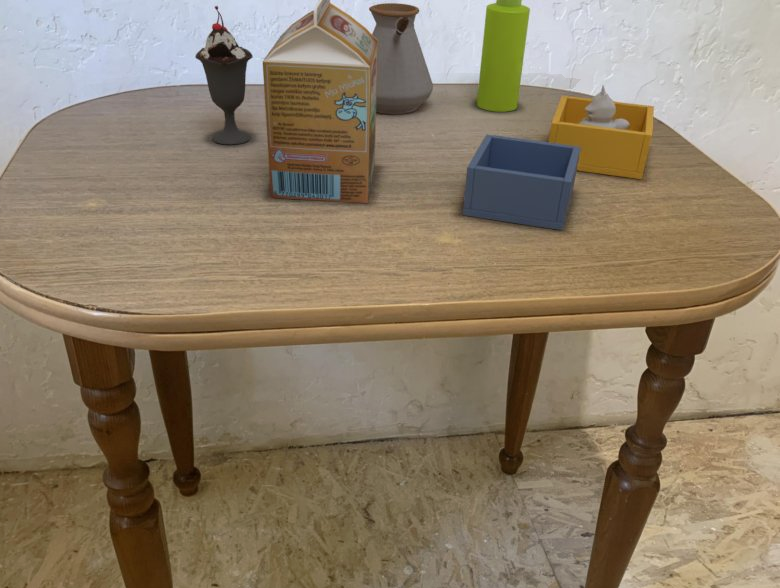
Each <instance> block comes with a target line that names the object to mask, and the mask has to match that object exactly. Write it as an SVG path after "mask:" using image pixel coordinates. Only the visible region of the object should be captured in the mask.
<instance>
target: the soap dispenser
mask: <svg viewBox="0 0 780 588" xmlns="http://www.w3.org/2000/svg"><path fill="white" fill-rule="evenodd" d="M522 1H523V0H495V2H493V3H489V4H487V5H486V10H485V20H484V28H483V30H484V31H483V37H482V48H481V57H480V69H479V77H478V87H477V88H478V89H477V98H476V106H477V107H478V108H479V109H482V110H485V111H490V112H496V113H505V112H506V113H507V112H513V111H515V110H517V108H518V103H519V96H520V88H521V82H522V81H521V79H522V73H523V66H524V59H525V50H526V44H527V43H526V42H527V36H528V29H529V19H530V14H531V13H530V11H531V8H530V7H528V6H526V5H523V4H522Z"/></svg>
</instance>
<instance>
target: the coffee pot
mask: <svg viewBox="0 0 780 588" xmlns="http://www.w3.org/2000/svg"><path fill="white" fill-rule="evenodd" d="M368 10H369V12H370V13H371V15H372V17H373V20H374V22H375V26H374V29H373V31H372V33H371V34H372V35H373V36H374V37H375V38H376V40H377V41H378V49H377V91H376V113H379V114H381V113H382V114H389V115H401V114H403V115H404V114H408V113H413V112H415V111H417V110H418V109H419V108H420V106H421V105H424V104H425V102H427V100H428V99H429V98H430V96H431V94H432V93H433V90H434V83H433V80H432V78H431V75H430V72H429V69H428V65H427V62H426V60H425V56H424V53H423V50H422V47H421V44H420V41H419V37H418V35H417V32H416V29H415V20H416V16H417V15H418V14H419V13H420V8H419V7H417V6H415V5H411V4H407V3H397V2H391V3H390V2H387V3H386V2H385V3H378V4H374V5H372V6H370V7H368Z"/></svg>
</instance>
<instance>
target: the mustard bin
mask: <svg viewBox="0 0 780 588" xmlns="http://www.w3.org/2000/svg"><path fill="white" fill-rule="evenodd" d="M592 100H593V98H587V97H580V96H579V97H578V96H571V95H569V96H568V95H563V94H562V95H561V97H560V99H559V102H558V105H557V107H556V110H555V112H554V114H553V118H552V120H551V123H550V127H549V135H548V140H547V142H549V143H557V144H565V145H572V146H579V147H581V150H580V155H579V160H578V166H577V171H576V172H585V173H591V174H592V173H593V174H598V175H599V174H600V175H605V176H607V175H608V176H614V177H622V178H629V179H637V180H642V179H643V176H644V171H645V167H646V163H647V159H648V154H649V151H650V147H651V144H652V143H651V141H652V138H653V130H654V111H655V106H654V105H647V104H639V103H629V102H621V101H613V102H614V104H615V108H616V112H615V115H614V116H613V118H612V119H611V120H612V121H613V120H616V119H625V120H627V121H628V122H629V127H628V129H627V130H622V129H614V128H606V127H598V126H590V125H582V124H579V123H580V122H581V121H582V120H583V119H584V118H585V117H588V116H587V115H586V112H587V111H586V110H585V108H586V106H588V105H589V104H590V103H591V102H592Z"/></svg>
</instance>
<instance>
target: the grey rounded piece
mask: <svg viewBox="0 0 780 588" xmlns="http://www.w3.org/2000/svg"><path fill="white" fill-rule="evenodd" d="M592 99H593V100H592V102H591V103H590V104H589V105H588V106H586V108H585V110H586V111H587V112H586V115H587V116H588V117H585V118H584V119H583V120H582V121H581V122H580V123H579V124H582V125H590V126H598V127H606V128H614V129H622V130H627V129H628V127H629V122H628V121H627V120H625V119H616V120H613V121H612V120H611V119H612V118H613V116H614V115H615V112H616V108H615V104H614V102H615V101H614V100H613V99H612V98H611V97H610V95H609V94H608V93H606V89H605V85H604V84H602V87H601V90H600V92H599V93H597V94H596V95H594V97H593V98H592Z"/></svg>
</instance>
